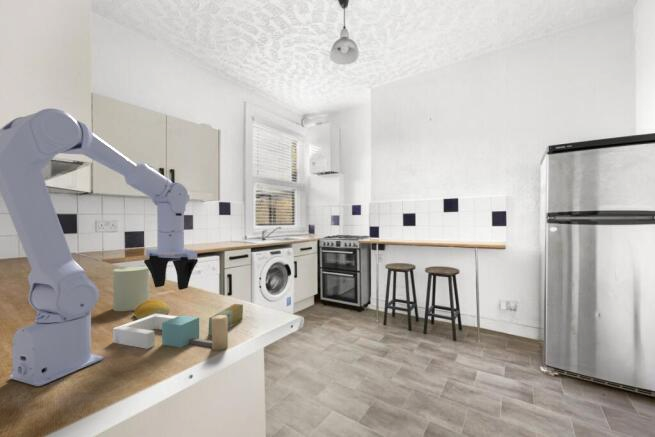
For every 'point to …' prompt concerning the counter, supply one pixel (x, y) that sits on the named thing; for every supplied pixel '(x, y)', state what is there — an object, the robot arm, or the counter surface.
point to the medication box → (229, 315)
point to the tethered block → (194, 332)
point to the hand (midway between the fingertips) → (171, 287)
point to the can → (130, 287)
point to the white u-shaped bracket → (140, 331)
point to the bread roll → (151, 308)
